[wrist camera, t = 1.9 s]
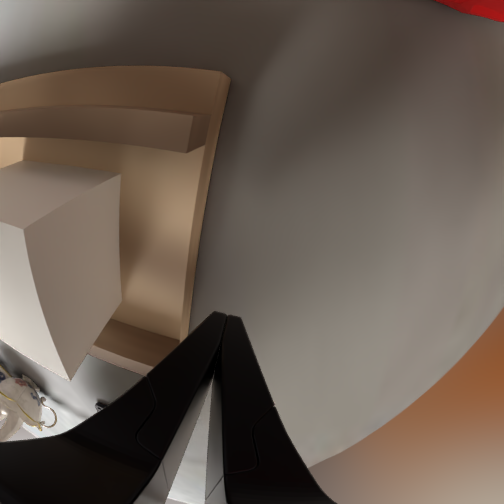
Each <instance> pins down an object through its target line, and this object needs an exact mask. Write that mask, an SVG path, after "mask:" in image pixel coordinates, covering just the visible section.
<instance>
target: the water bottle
mask: <svg viewBox="0 0 504 504" xmlns="http://www.w3.org/2000/svg"><path fill="white" fill-rule="evenodd" d="M435 1H437V2H440V3H442V4H444V5H447V6H449V7H451V8H453V9H456V10H458V11H460V12H462V13H466V14H471V15H476V16H481V17H485V18H489V19H492V20H495V21H499V22H504V0H435Z"/></svg>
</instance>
